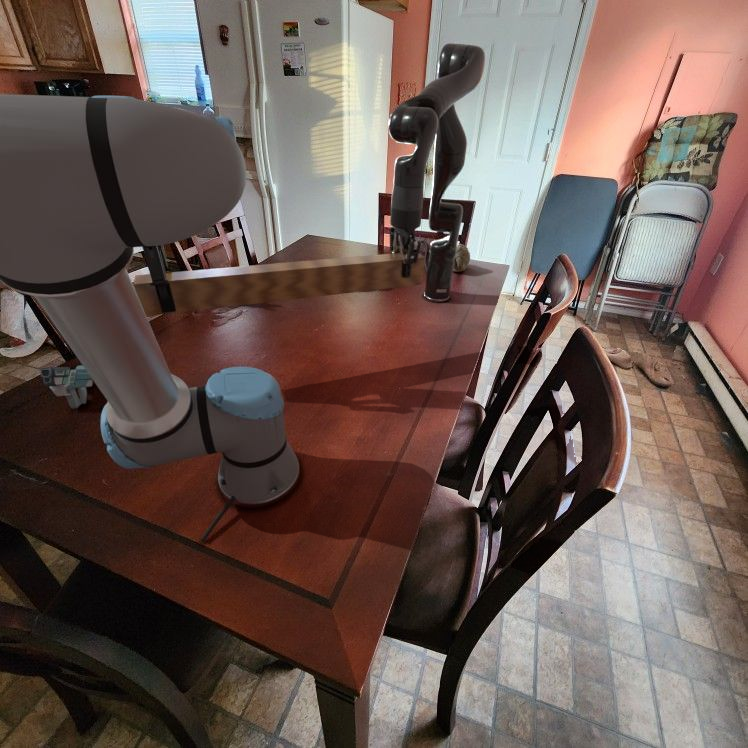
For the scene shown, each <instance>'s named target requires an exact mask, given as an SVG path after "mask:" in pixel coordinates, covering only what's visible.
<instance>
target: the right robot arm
mask: <svg viewBox="0 0 748 748" xmlns="http://www.w3.org/2000/svg"><path fill="white" fill-rule="evenodd" d="M485 65H486V53H485V51H484V49H483V48H482V47H480V46H479V45H474V44H467V43H466V44H465V43H451V42H450V43H446V44H444V46H443V47H442V48H441V50H440V53H439V58H438V63H437V74H436V75H437V78H436V79H434V80H432V81H430V82H429V83H428V84H426V86H425V87H423V89H422V90H421V91H420V92H419V93H418V94H417V95H415V96H412V97H410V98H408V99H406V100H404V101H402V102H401V103H399V104H398V105H396V107H395V108H394V109H393V110H392V112H391V114H390V117H389V120H388V133H389V135H390V137H391V139H392V140H393V141H395V142H396V143H399V144H407V145H415V150H414V151H413V153H412V154H406V155H400V156H398V157H397V158H396V159H395V162H394V172H393V186H392V192H391V203H390V219H389V224H390V227H389V230H388V232H389V250H390V251H391V254H392V253H400V254H401V255H402V258H403V265H402V277H403V278H409V277H410V275H411V264H413V263H417V259H418V254H419V253H420V250H421V245H422V243H424V245H425V253H424V257H425V265H424V269H425V271H426V277H425V287H424V294H423V297H424V298H425V299H426V300H428V301H430V302H434V303H445V302H447V301H449V300H450V297H451V296H450V295H451V294H450V293H451V287H452V281H453V275H454V272H453V269H454V262H455V256H456V249H457V246H458V241H459V235H460V230H461V225H462V222H463V221H462V220H463V217H464V216H463V214H464V208H463V206H462V204H460V203H451V202H442V198H443V197H444V195H445V193H446V191H447V189H448V188H449V187H450V186H451V184H452V183H453V182H454V181H455V179H456V178H457V177H458V176H459V174H460V173H461V172H462V170H463V169H464V166H465V163H466V155H467V147H468V140H467V139H468V138H467V135H466V133H465V130H464V127H463V125H462V122H461V120H460V118H459V115H458V113H457V111H456V107H455V104H456V103H457V102H458V101H460V100H461V99H463V98H465V96H467V95H469V94H470V93H471V92H473V91H475V89H476V88H477V87H478V86H479V84H480V82H481V81H482V79H483V75H484V71H485ZM433 144H434V151H433V169H432V170H433V172H432V173H433V174H432V189H431V196H430V205H429V211H428V212H429V214H428V227H429V229H430V231H433V232H437V233H445V234H446V233H448V235H447V236H445V237H443V238H439V239H435V240H433V241H431V242H430V245H429V251H428V243H427V242H426V240H424V239H422V240H423V241H422V240H421V241H420V240H416V230H417V229H418V228H420V227H421V225H422V215H423V207H424V206H423V205H424V193H425V192H424V185H425V176H426V167H427V162H428V159H429V156H430V153H431V150H432V147H433ZM428 252H429V253H428ZM406 254H407V258H406ZM427 255H428V256H427ZM413 256H414V258H413ZM427 257H428V261H427Z"/></svg>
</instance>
